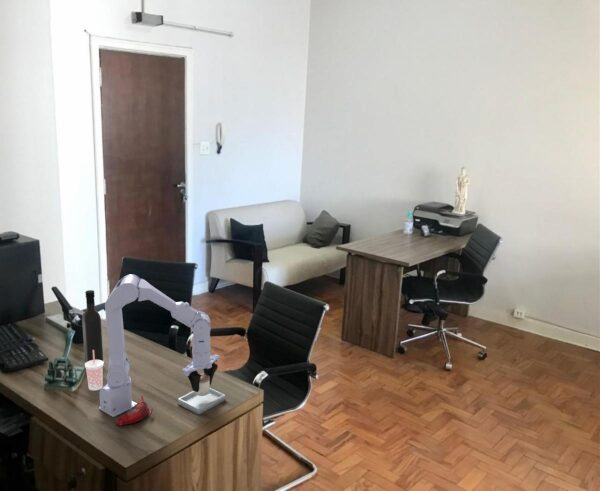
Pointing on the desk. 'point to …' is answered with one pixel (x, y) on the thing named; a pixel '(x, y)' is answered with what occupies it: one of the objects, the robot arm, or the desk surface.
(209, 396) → the tray
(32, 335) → the desk surface
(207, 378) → the espresso cup
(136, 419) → the decorative bird figurine
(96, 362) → the beverage cup
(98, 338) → the wine bottle
